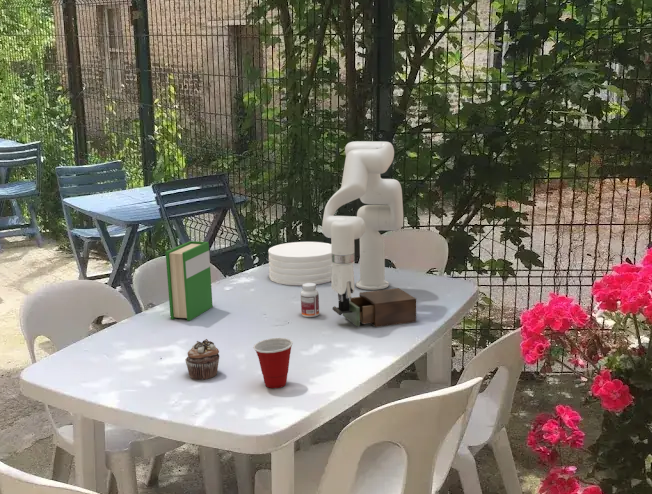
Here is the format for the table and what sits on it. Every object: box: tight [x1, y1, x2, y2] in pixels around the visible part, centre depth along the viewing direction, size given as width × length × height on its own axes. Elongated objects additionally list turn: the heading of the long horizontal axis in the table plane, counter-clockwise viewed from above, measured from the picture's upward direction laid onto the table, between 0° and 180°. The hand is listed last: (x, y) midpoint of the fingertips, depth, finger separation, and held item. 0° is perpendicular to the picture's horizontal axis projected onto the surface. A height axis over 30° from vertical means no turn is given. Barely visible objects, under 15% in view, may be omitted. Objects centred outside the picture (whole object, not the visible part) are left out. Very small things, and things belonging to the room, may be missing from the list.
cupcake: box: [184, 338, 220, 381], centre depth 243 cm, size 10×10×10 cm
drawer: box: [332, 296, 375, 327], centre depth 287 cm, size 18×13×6 cm
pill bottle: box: [300, 283, 320, 318], centre depth 296 cm, size 6×6×11 cm
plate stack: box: [268, 241, 332, 286], centre depth 348 cm, size 28×28×12 cm
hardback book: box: [165, 240, 214, 322], centre depth 301 cm, size 18×7×24 cm, turn 159°
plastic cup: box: [252, 337, 294, 389], centre depth 234 cm, size 11×11×12 cm
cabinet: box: [358, 287, 417, 328], centre depth 290 cm, size 15×15×8 cm
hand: (344, 311), depth 285 cm, fingers closed
